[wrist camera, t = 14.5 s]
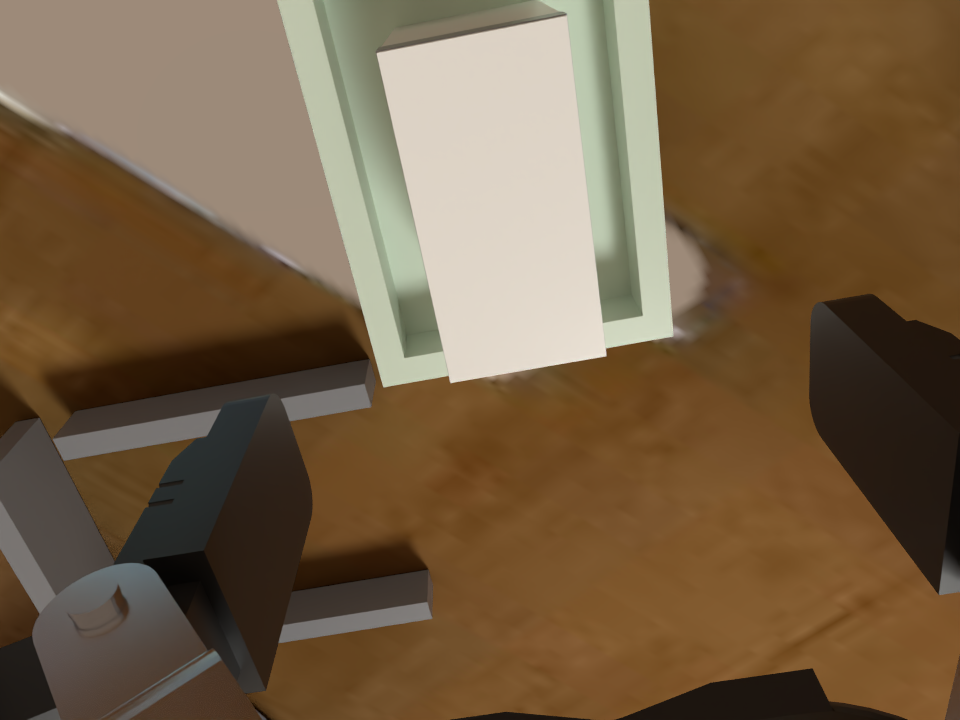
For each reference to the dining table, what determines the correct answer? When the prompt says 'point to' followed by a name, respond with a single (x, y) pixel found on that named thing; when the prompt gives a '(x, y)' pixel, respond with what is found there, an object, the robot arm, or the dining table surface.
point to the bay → (54, 498)
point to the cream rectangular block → (497, 186)
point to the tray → (381, 185)
